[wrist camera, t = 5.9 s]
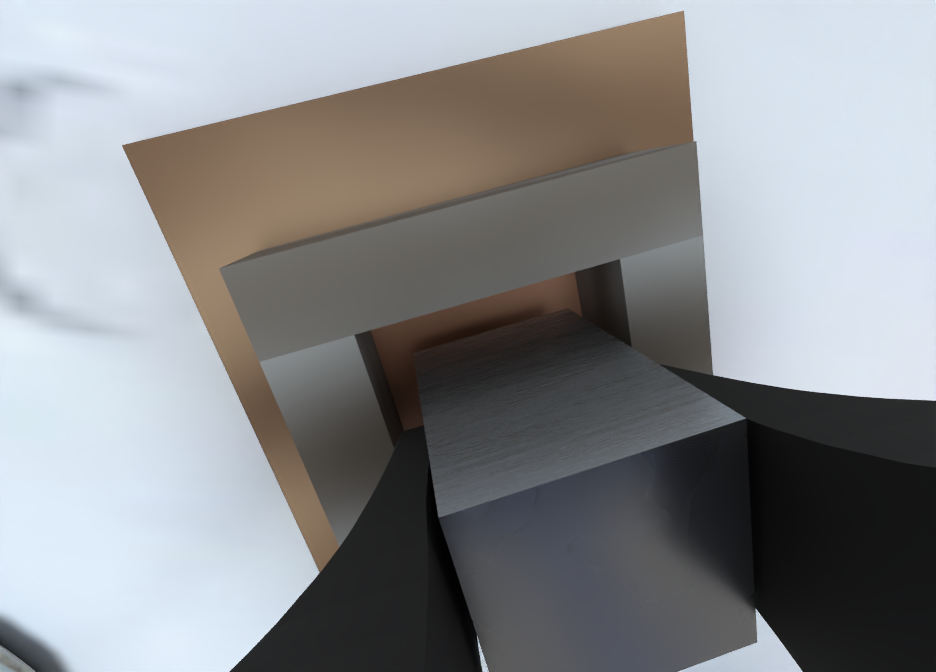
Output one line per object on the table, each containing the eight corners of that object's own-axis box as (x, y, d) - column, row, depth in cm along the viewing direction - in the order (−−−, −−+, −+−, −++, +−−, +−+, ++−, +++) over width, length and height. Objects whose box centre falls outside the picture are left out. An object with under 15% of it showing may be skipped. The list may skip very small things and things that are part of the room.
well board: (705, 495, 18) (787, 571, 14) (350, 615, 16) (340, 732, 13) (665, 22, 12) (779, -49, 9) (139, 148, 11) (23, 126, 8)
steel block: (591, 442, 13) (756, 642, 7) (453, 486, 12) (509, 733, 7) (567, 307, 11) (746, 418, 6) (412, 352, 11) (438, 517, 5)
